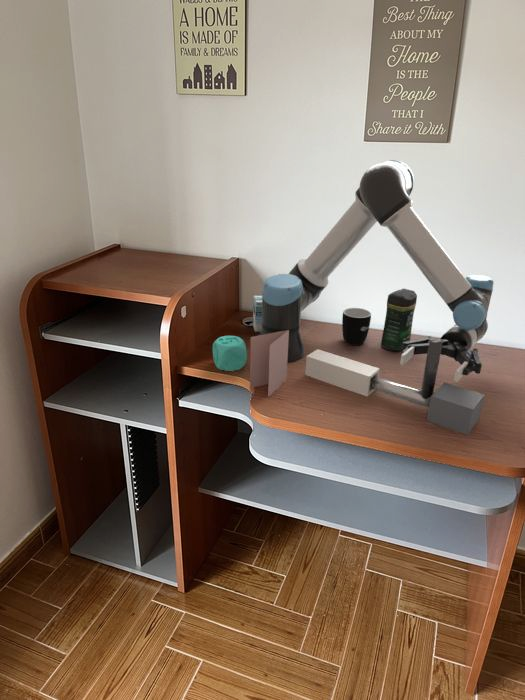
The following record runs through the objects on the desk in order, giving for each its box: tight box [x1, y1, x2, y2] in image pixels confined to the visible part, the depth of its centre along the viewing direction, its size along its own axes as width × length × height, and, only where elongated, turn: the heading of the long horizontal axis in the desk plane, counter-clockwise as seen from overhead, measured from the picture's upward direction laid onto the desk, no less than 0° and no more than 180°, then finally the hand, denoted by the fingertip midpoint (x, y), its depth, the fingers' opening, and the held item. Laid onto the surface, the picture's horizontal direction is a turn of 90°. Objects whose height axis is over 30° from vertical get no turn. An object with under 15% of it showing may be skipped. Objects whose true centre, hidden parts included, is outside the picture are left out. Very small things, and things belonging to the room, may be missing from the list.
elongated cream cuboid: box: [304, 348, 381, 397], centre depth 149 cm, size 20×6×6 cm, turn 53°
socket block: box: [426, 382, 485, 436], centre depth 132 cm, size 10×9×7 cm
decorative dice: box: [212, 335, 248, 372], centre depth 156 cm, size 8×8×8 cm
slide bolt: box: [370, 338, 442, 409], centre depth 137 cm, size 26×4×18 cm, turn 53°
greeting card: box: [249, 330, 289, 398], centre depth 143 cm, size 11×7×15 cm, turn 118°
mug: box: [341, 307, 372, 346], centre depth 175 cm, size 12×9×10 cm
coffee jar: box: [380, 287, 418, 352], centre depth 170 cm, size 10×8×19 cm
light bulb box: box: [252, 295, 262, 333], centre depth 183 cm, size 11×7×11 cm, turn 98°
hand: (428, 368), depth 130 cm, fingers open, 13 cm apart
